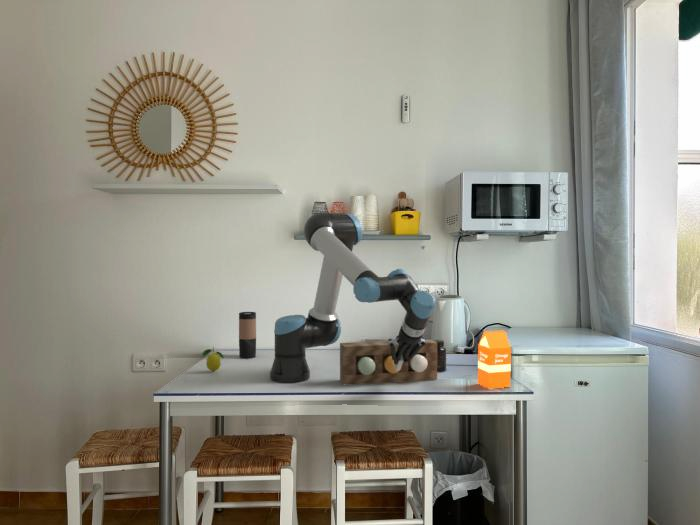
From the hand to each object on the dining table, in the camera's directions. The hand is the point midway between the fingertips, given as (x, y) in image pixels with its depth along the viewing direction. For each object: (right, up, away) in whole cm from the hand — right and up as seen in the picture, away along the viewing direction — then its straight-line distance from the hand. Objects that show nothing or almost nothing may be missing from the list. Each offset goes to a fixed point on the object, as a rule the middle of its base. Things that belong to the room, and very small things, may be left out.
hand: (396, 367), depth 184 cm
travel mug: (-63, -5, +48) cm, 79 cm away
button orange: (-1, -3, +5) cm, 6 cm away
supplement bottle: (+19, -6, +25) cm, 32 cm away
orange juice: (+35, -7, +2) cm, 36 cm away
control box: (-2, -7, +10) cm, 12 cm away
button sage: (-11, -3, +2) cm, 12 cm away
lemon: (-71, -6, +20) cm, 74 cm away
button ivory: (+9, -3, +7) cm, 11 cm away
